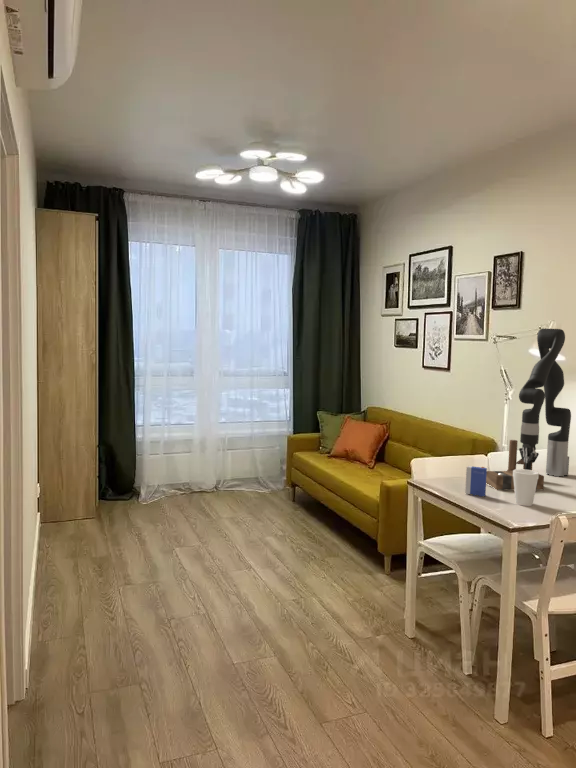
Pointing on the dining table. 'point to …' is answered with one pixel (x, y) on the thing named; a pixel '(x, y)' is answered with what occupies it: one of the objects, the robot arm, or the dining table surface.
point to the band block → (507, 480)
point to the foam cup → (525, 486)
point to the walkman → (476, 480)
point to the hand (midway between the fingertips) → (527, 471)
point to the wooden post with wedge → (514, 456)
